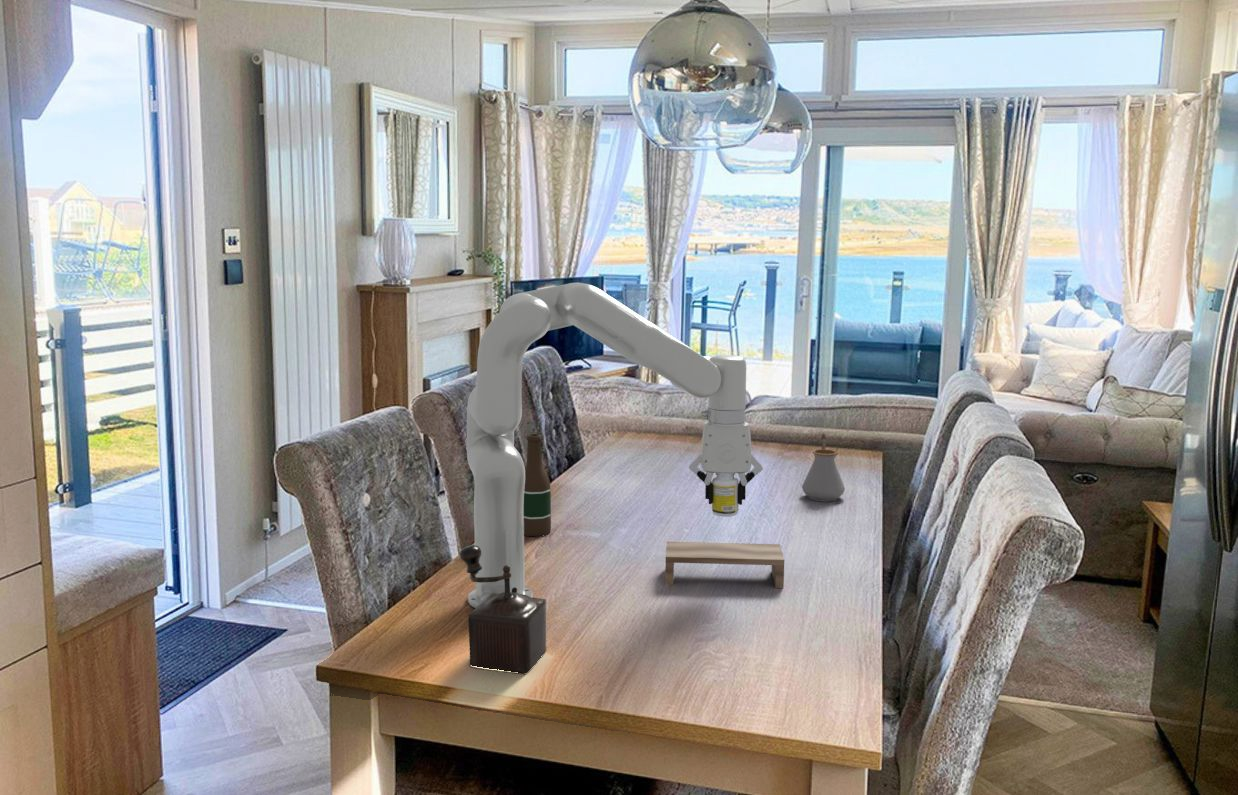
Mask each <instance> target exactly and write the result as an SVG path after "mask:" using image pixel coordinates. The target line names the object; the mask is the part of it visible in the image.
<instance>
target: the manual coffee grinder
mask: <svg viewBox="0 0 1238 795" xmlns="http://www.w3.org/2000/svg"><path fill="white" fill-rule="evenodd" d="M480 557H481V549H480V548H479V547H478V546H476V545H475V544H469V545H466V546H464V547H463V548H462V549H461V550H460V552H459V558H460V560H461V561H462V562H463V563H464V564H465V565H466V573H467V574H469V578H470V580H471V582H474V583H476V582H479V583H482V582H496V581H500V580H503V579H504V583H505V592H503V593H501V594H496V593H493V594H491V595H490V596H489V597H488V598H486V599H485V600H484V601H483V602H482V603H481V604H480V605H479V606H477V607H476V608H474V609H473V610H472V611H471V612H470V614H468V615H467V616H468V621H467V622H468V642H469V666H470V665H472V666H477V667H483V668H489V669H497V670H498V669H499V670H504V671H511V672H518V673H527V672H528V671H529V670H530V669H531V668H532V667H533V666H534V665H535V666H536V665H537V663H538V662H539V661H540V660H541V659H540V658H542V657H543V656H544V655H545V654H546V653H545V651H546V652H547V616H546V615H547V610H546V609H547V607H546V604H547V600H546V599H545V598H541V597H540V598H538V597H533V598H531V597H529V596H527V595H523V594H518V593H516V592H517V588H515V587H514V588H512V592H510V577H512V575H511V573H510V567H509V566H508V565H505V566H504V567H503V572H504V573H503V575H502V576H497V577H476V574H477V573H478V571H480V570H482V566H481V565H480V563H479V559H480ZM544 653H545V654H544ZM543 654H544V655H543ZM542 655H543V656H542ZM541 656H542V657H541ZM539 659H540V660H539ZM538 660H539V661H538ZM537 661H538V662H537ZM535 666H534V667H535ZM534 667H533V668H534ZM533 668H532V669H533ZM532 669H531V670H532ZM531 670H530V671H531ZM530 671H529V672H530ZM529 672H528V673H529ZM518 673H517V674H518ZM528 673H527V674H528Z"/></svg>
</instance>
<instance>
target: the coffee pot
mask: <svg viewBox="0 0 1238 795" xmlns="http://www.w3.org/2000/svg"><path fill="white" fill-rule="evenodd" d="M819 435H820V436H819V437H820V440H821V449H819V448H818V449H814V450H813V451H812V454H813V455H814V460H813V462H812V464H811V466H810V468H809V471H808V472H807V475H806V477H805V478H804V481H803V483H802V485H801V488H802V491H803V494H805V496H807V497H808V498H809V500H813V501H816V502H834V501H837V500H838V498H840V497H841V496H842V495H843V494H844V492H845V490H846V488H845V484H844V483H843V479H842V477H841V475H840V472H839V469H838V467H837V464H836V461H835V459H836V457H837V455H838V454H839V452H838V451H836V450H832V449H826V447H827V441H826V440H827V439H828V437H829V436H828V435H827V434H826V433H824V432H823V433H821V434H819Z"/></svg>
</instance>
